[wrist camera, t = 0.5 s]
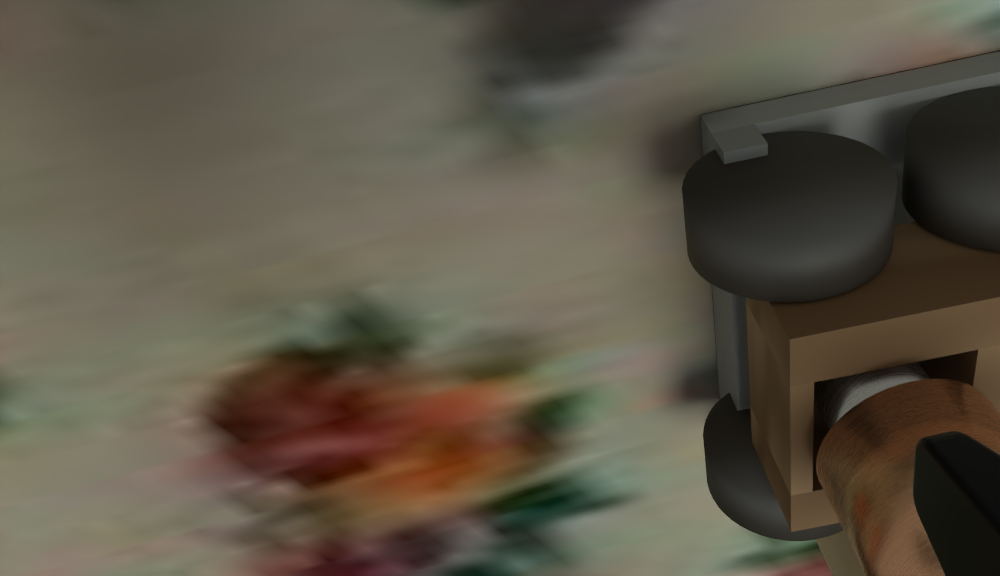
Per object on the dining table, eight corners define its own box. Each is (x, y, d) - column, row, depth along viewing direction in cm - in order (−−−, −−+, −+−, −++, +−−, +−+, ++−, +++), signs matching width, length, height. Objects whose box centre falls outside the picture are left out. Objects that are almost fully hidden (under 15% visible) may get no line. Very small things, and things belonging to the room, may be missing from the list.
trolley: (1007, 370, 27) (1125, 511, 22) (689, 434, 27) (743, 584, 23) (1062, 70, 21) (1230, 179, 17) (661, 154, 22) (726, 283, 17)
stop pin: (887, 348, 24) (1096, 651, 17) (746, 376, 24) (892, 689, 17) (896, 229, 22) (1140, 519, 15) (741, 261, 22) (907, 565, 15)
